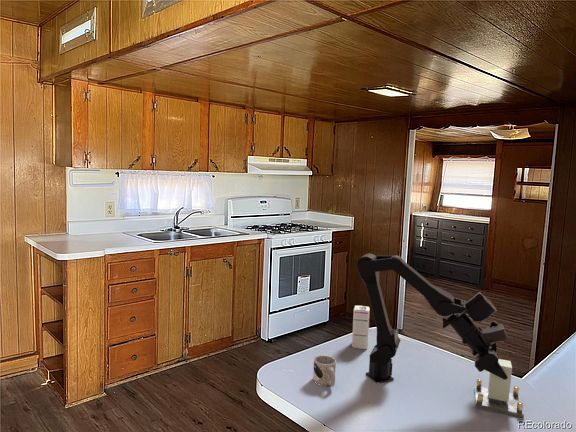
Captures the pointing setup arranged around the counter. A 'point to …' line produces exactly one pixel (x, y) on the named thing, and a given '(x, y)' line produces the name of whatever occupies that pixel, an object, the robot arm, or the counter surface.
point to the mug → (324, 370)
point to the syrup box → (360, 327)
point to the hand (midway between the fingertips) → (505, 374)
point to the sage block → (500, 383)
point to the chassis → (498, 401)
